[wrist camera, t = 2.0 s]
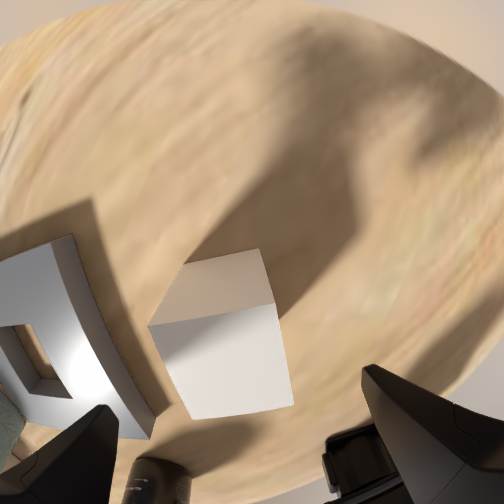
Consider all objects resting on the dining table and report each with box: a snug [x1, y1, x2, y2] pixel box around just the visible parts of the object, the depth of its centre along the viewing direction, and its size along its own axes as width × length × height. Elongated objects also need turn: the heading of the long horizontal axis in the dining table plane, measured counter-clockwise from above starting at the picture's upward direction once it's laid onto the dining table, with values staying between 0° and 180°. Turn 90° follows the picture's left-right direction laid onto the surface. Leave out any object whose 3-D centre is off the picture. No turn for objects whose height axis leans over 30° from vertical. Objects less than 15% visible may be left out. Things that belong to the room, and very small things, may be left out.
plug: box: [148, 248, 294, 420], centre depth 13 cm, size 4×5×7 cm
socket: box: [0, 233, 156, 440], centre depth 15 cm, size 16×16×2 cm
